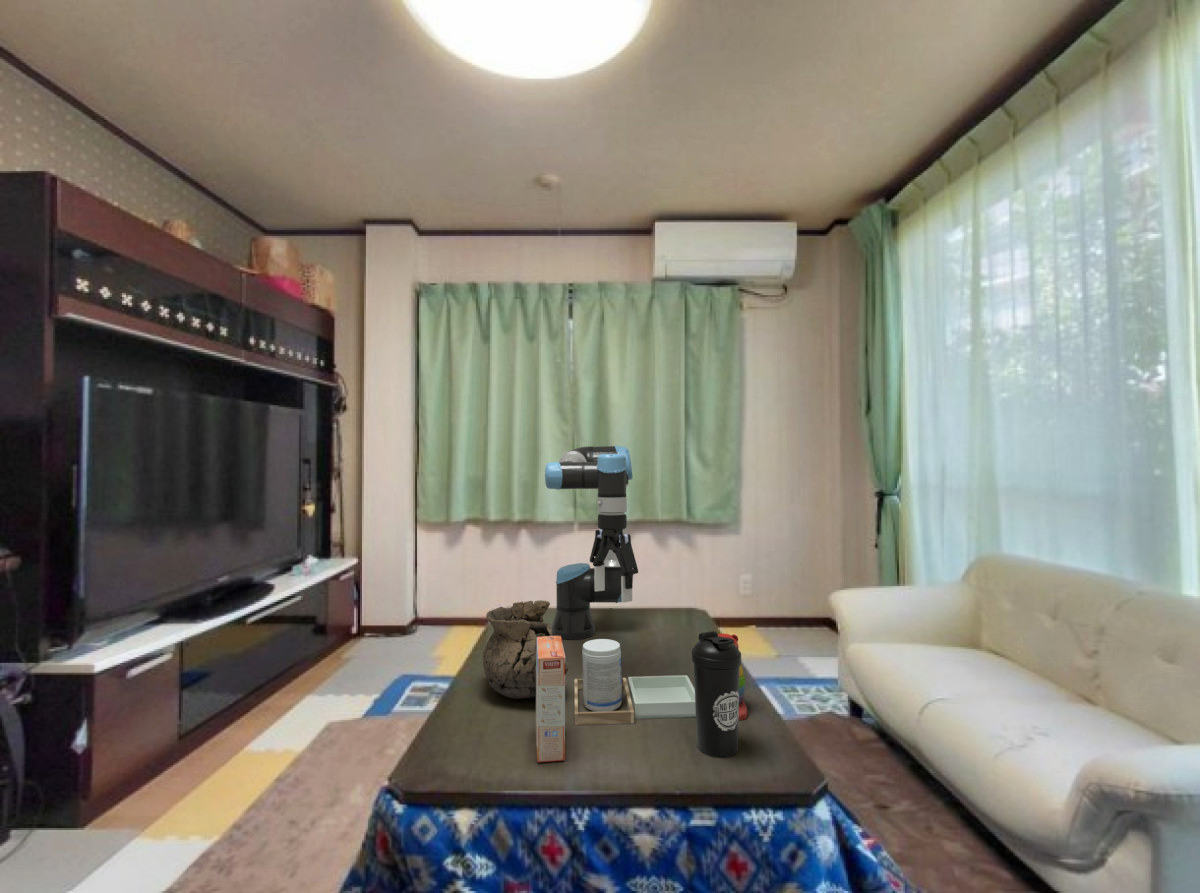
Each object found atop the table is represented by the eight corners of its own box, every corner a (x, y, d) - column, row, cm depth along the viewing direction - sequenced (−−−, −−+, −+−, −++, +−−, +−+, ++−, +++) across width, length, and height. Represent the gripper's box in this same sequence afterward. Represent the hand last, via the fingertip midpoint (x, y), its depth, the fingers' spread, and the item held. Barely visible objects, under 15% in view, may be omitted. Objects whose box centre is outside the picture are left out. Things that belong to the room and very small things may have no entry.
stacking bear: (698, 714, 129) (697, 638, 129) (706, 696, 138) (705, 626, 139) (745, 722, 125) (744, 643, 125) (750, 703, 134) (749, 630, 135)
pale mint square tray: (628, 690, 142) (628, 676, 142) (687, 688, 143) (687, 675, 143) (635, 718, 127) (634, 703, 127) (701, 716, 128) (701, 701, 128)
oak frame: (574, 688, 144) (574, 679, 144) (625, 687, 144) (625, 677, 144) (574, 725, 124) (574, 713, 124) (634, 723, 125) (634, 712, 125)
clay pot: (487, 673, 154) (487, 597, 155) (571, 672, 155) (570, 596, 155) (467, 715, 129) (466, 623, 130) (566, 713, 130) (566, 622, 130)
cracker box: (566, 761, 109) (566, 656, 110) (536, 764, 108) (536, 658, 109) (562, 727, 123) (562, 634, 123) (535, 729, 122) (535, 635, 123)
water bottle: (711, 764, 108) (710, 647, 108) (683, 740, 117) (682, 632, 118) (752, 753, 112) (751, 640, 112) (722, 730, 121) (721, 626, 122)
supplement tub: (629, 707, 133) (629, 646, 133) (596, 717, 128) (596, 654, 128) (607, 693, 141) (606, 635, 141) (575, 702, 136) (575, 642, 136)
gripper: (577, 510, 151) (577, 588, 150) (625, 518, 129) (626, 608, 128) (600, 509, 154) (601, 585, 154) (651, 516, 133) (652, 604, 132)
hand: (612, 596), depth 141 cm, fingers open, 13 cm apart
